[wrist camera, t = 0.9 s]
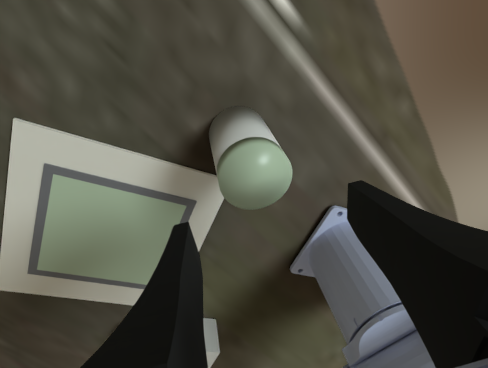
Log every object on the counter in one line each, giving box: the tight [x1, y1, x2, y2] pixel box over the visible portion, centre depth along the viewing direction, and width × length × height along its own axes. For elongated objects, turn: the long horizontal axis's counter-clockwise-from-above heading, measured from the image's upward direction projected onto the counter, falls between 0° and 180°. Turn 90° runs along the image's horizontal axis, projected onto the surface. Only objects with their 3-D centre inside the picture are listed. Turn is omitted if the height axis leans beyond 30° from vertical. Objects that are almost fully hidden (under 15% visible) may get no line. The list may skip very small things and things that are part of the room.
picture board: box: [0, 118, 224, 305], centre depth 24 cm, size 14×15×1 cm
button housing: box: [203, 318, 220, 368], centre depth 31 cm, size 8×8×4 cm
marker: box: [209, 106, 292, 210], centre depth 19 cm, size 4×4×6 cm
